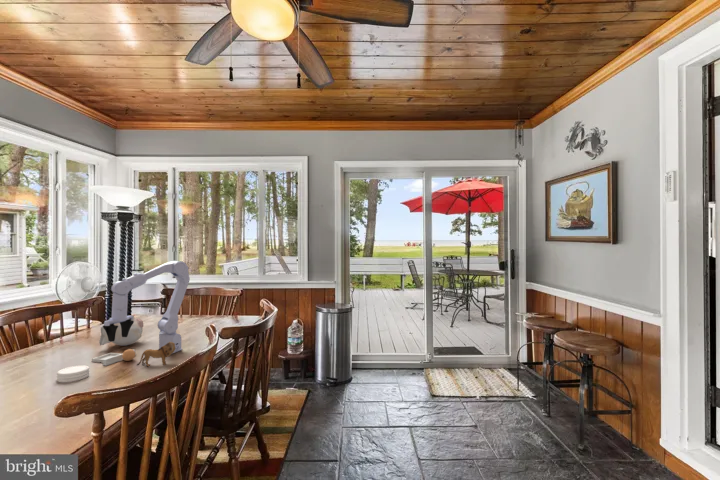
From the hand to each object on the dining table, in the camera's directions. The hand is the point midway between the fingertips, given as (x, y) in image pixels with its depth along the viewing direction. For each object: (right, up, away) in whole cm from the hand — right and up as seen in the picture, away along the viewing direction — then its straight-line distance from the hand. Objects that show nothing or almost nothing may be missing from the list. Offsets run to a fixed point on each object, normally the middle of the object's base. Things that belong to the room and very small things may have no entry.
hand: (118, 339), depth 160 cm
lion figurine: (+19, -10, -3) cm, 22 cm away
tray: (-6, -10, +3) cm, 12 cm away
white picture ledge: (0, -10, +2) cm, 10 cm away
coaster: (-4, -10, -19) cm, 22 cm away
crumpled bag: (-15, -10, +26) cm, 32 cm away
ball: (+4, -10, +1) cm, 11 cm away
